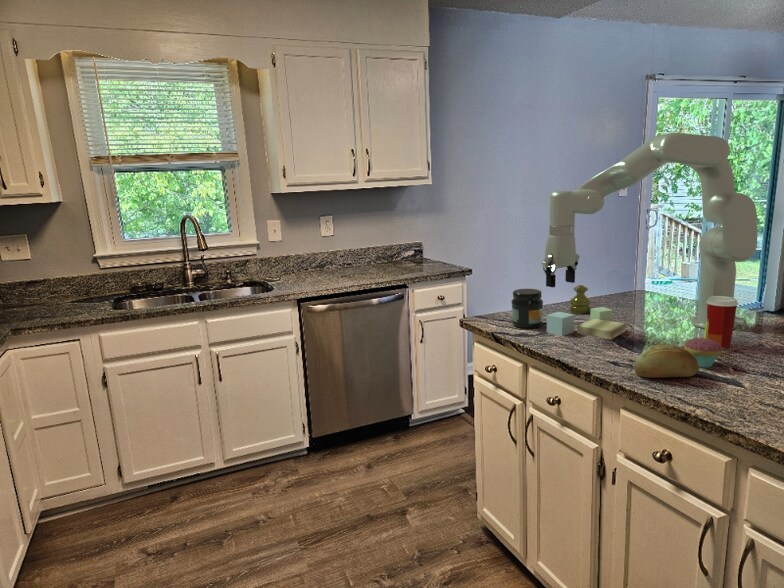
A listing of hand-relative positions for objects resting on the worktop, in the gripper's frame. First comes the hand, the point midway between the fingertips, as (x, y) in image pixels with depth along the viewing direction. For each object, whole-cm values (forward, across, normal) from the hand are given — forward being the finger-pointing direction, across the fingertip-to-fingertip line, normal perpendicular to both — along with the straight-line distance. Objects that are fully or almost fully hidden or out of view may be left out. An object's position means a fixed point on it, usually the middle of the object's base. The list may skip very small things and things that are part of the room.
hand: (560, 284), depth 164 cm
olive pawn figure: (+16, -26, -11) cm, 33 cm away
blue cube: (+16, 0, 0) cm, 16 cm away
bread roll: (+16, +12, +41) cm, 46 cm away
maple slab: (+16, -9, +9) cm, 21 cm away
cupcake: (+16, -2, +43) cm, 46 cm away
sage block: (+16, -18, +3) cm, 24 cm away
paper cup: (+16, -20, +39) cm, 47 cm away
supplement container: (+16, +1, -13) cm, 21 cm away
